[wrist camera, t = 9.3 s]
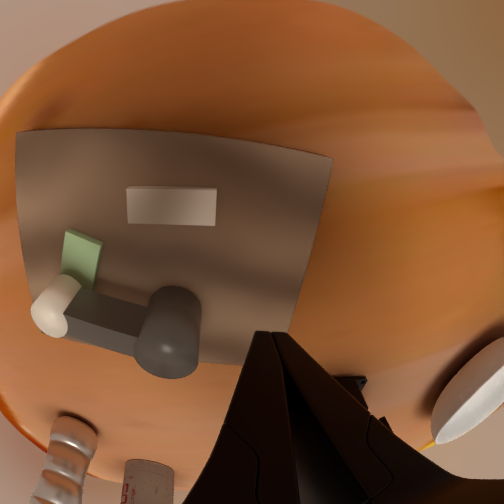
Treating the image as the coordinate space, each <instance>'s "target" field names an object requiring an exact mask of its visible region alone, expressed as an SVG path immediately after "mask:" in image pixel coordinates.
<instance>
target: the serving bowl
mask: <svg viewBox="0 0 504 504" xmlns="http://www.w3.org/2000/svg"><path fill="white" fill-rule="evenodd" d="M503 402H504V337H501V338H499V339H497V340H495V341H493V342H492V343H490V344H489V345H487V346H486V347H485V348H483V349H482V350H481V351H480V352H478V353H477V354H476V355H475V356H474V357H473V358H471V359H470V360H469V361H468V362H467V363H466V364H465V365H464V366H463V367H462V368H461V369H460V370H459V372H458V373H457V374H456V375H455V376H454V377H453V378H452V379H451V381H450V382H449V383H448V384H447V386H446V387H445V389H444V390H443V391H442V393H441V394H440V396H439V398H438V400H437V402H436V404H435V406H434V409H433V412H432V416H431V432H432V436H433V439H434V442H435V443H436V444H444V443H447V442H450V441H452V440H454V439H456V438H458V437H460V436H462V435H463V434H465V433H467V432H468V431H470V430H471V429H473V428H474V427H475V426H477V425H478V424H479V423H480V422H482V421H483V420H484V419H485V418H487V417H488V416H489V415H490V414H491V413H492V412H494V411H495V410H496V409H497V408H498V407H499V406H500V405H501V404H502V403H503Z"/></svg>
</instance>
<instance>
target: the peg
mask: <svg viewBox="0 0 504 504" xmlns="http://www.w3.org/2000/svg"><path fill="white" fill-rule="evenodd" d="M31 315H32V318H33V320H34V322H35V324H36V325H37V326H38V327H39V329H41V330H42V331H43V332H44V333H46V334H47V335H49V336H52V337H56V338H59V337H63V336H64V335H67V336H70V337H73V338H76V339H78V340H81V341H84V342H87V343H90V344H93V345H96V346H99V347H102V348H106V349H109V350H112V351H115V352H119V353H122V354H126V355H129V356H133V357H135V359H136V361H137V363H138V364H139V365H140V366H141V367H142V368H143V369H144V370H146V371H147V372H149V373H150V374H153V375H155V376H158V377H161V378H167V379H178V378H182V377H186V376H188V375H190V374H191V373H192V372H194V370H195V369H196V368H197V365H198V359H199V344H200V330H201V317H202V307H201V304H200V302H199V300H198V299H197V297H196V296H195V295H194V294H192V293H191V292H190V291H188V290H186V289H184V288H180V287H174V286H169V287H164V288H161V289H159V290H157V291H156V292H155V293H154V294H153V295H152V296H151V298H150V300H149V303H148V306H147V307H146V306H142V305H138V304H135V303H131V302H128V301H124V300H121V299H117V298H114V297H110V296H107V295H104V294H101V293H97V292H94V291H91V290H88V289H85V288H82V286H81V285H80V284H79V282H78V281H77V280H75V279H74V278H73V277H71V276H68V275H64V274H61V275H58V276H56V277H55V278H54V279H53V280H52V281H51V283H50V284H49V285H48V286H47V287H46V288H45V290H44V291H43V292H42V293H41V294H40V296H39V297H38V298H37V299H36V301H35V302H34V303H33V304H32V306H31Z"/></svg>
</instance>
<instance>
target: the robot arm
mask: <svg viewBox="0 0 504 504" xmlns="http://www.w3.org/2000/svg"><path fill="white" fill-rule="evenodd" d="M366 382H367V379H366V377H351V378H335V379H334V378H333V377H332V376H331V375H330V374H329V373H327V372H326V371H325V370H324V369H323V368H322V367H321V366H320V365H319V364H318V363H317V362H316V361H315V360H314V359H313V358H312V357H311V356H310V355H309V354H308V353H307V352H306V351H305V350H304V349H303V348H302V347H301V346H300V345H299V344H298V343H297V342H296V341H295V340H294V339H293V338H292V337H291V336H290V335H289V334H288V333H286V332H277V331H273V332H269V331H260V330H256V331H255V332H254V335H253V338H252V341H251V344H250V347H249V350H248V353H247V356H246V359H245V362H244V365H243V368H242V371H241V374H240V377H239V380H238V383H237V385H236V388H235V391H234V394H233V397H232V400H231V403H230V406H229V408H228V411H227V414H226V417H225V420H224V423H223V425H222V428H221V430H220V433H219V436H218V439H217V441H216V443H215V446H214V448H213V451H212V453H211V455H210V457H209V459H208V461H207V463H206V465H205V467H204V468H203V470H202V472H201V474H200V476H199V477H198V479H197V481H196V482H195V484H194V486H193V487H192V489H191V490H190V492H189V494H188V495H187V497H186V499H185V500H184V502H183V503H182V504H504V479H499V480H498V479H491V480H490V479H467V478H462V477H458V476H455V475H453V474H451V473H449V472H447V471H446V470H444V469H442V468H441V467H439V466H438V465H436V464H435V463H434V462H432V461H431V460H429V459H428V458H426V457H425V456H423V455H422V454H420V453H419V452H418V451H416V450H415V449H413V448H412V447H411V446H409V445H408V444H407V443H405V442H404V441H403V440H401V439H400V438H399V437H397V436H396V435H395V434H394V433H393V431H392V429H391V428H390V426H389V424H388V422H387V420H386V418H385V416H384V417H381V418H379V420H378V419H377V418H376V417H374V416H373V415H370V412H369V411H368V406H367V404H366V401H365V399H364V397H363V395H362V392H361V390H362V389H363V387H364V386H365V384H366Z"/></svg>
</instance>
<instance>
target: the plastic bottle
mask: <svg viewBox="0 0 504 504" xmlns="http://www.w3.org/2000/svg"><path fill="white" fill-rule="evenodd" d="M96 449H97V436H96V434H95V432H94V430H93V429H92V428H91V427H90V426H88V425H87V424H85V423H84V422H82V421H80V420H78V419H76V418H73V417H70V416H61V417H59V418H57V419H56V421H55V422H54V424H53V425H52V427H51V432H50V443H49V447H48V451H47V456H46V461H45V464H44V467H43V471H42V472H41V475H40V478H39V481H38V483H37V485H36V487H35V489H34V491H33V493H32V496H31V499H30V504H82V494H83V486H84V479H85V477H86V474H87V470H88V467H89V465H90V461H91V460H92V458H93V457H94V454H95V452H96Z"/></svg>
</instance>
